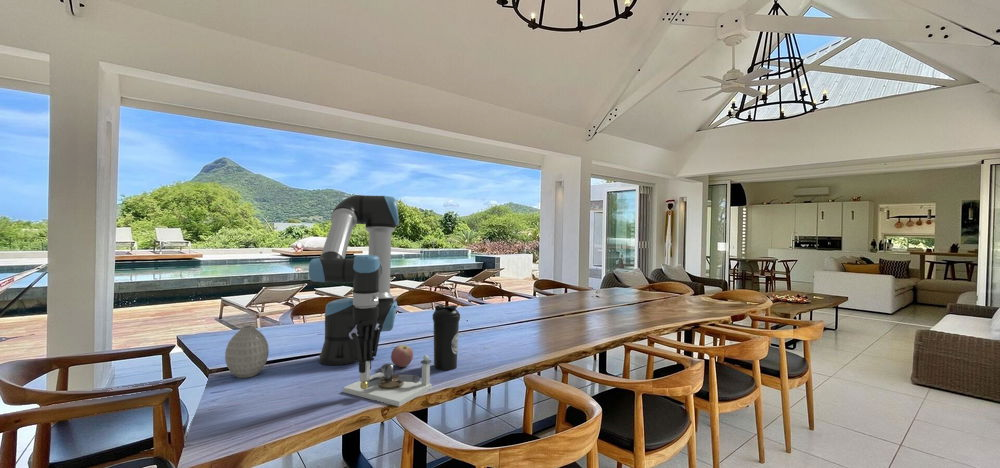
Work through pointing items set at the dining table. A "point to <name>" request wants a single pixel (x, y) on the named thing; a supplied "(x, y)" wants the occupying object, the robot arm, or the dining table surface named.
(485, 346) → the dining table surface
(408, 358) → the apple
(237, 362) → the vase
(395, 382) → the capstan
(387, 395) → the stand base
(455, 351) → the water bottle
